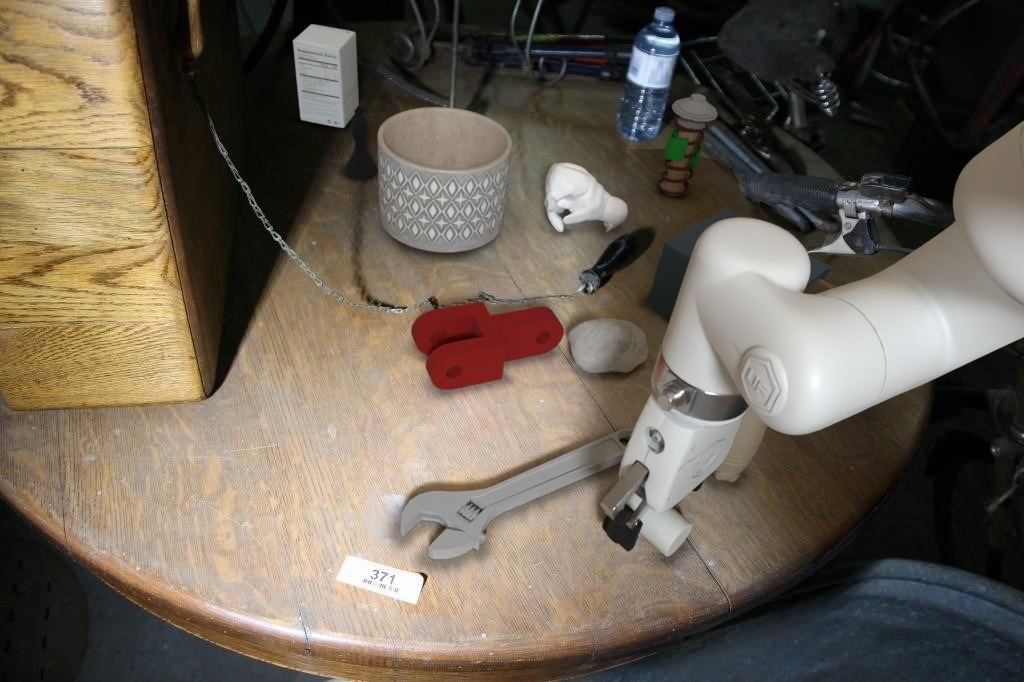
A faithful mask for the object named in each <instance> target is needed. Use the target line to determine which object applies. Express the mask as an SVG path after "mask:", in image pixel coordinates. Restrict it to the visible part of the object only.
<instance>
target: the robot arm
mask: <svg viewBox="0 0 1024 682" xmlns="http://www.w3.org/2000/svg"><path fill="white" fill-rule="evenodd" d="M952 209H953V210H952V211H953V215H954V219H955V221H954V222H953V223H952V224H950V225H949V226H948V227H946V228H945V229H943V231H941V232H939V233H937V235H936V236H934V237H933V238H931V239H929V240H928V241H926V242H925V243H924V244H922V245H921V246H919V247H918V248H916V249H915V250H913V251H911V252H910V253H909V254H907V255H906V256H904V257H903V258H901V259H899V260H898V261H896V262H895V263H893V264H891V265H890V266H888V267H887V268H885V269H882V270H881V271H879V272H877V273H875V274H873V275H871V276H868V277H865V278H862V279H858V280H856V281H855V280H854V281H852V282H849V283H846V284H843V285H840V286H835V287H836V288H833V289H830V290H827V291H824V292H821V293H818V294H815V295H814V294H804V293H803V292H804V290H805V288H806V285H807V283H808V280H809V277H810V260H809V256H808V255H809V254H808V251H807V249H806V248H805V246H804V245H803V244H802V243H801V242H800V240H799V239H798V238H796V236H795V235H793V234H792V233H790V232H789V231H788V230H786V229H784V228H782V227H781V226H778V225H776V224H774V223H772V222H768V221H765V220H762V219H758V218H753V217H743V216H742V217H741V216H739V217H737V218H729V219H724V220H720V221H718V222H716V223H714V224H712V225H711V226H709V227H708V228H707V229H705V231H704V232H703V233H702V234H701V235H700V237H699V238H698V240H697V242H696V244H695V247H694V249H693V252H692V255H691V258H690V261H689V264H688V267H687V270H686V273H685V276H684V279H683V282H682V285H681V289H680V292H679V295H678V298H677V301H676V304H675V306H674V309H673V312H672V315H671V318H670V319H669V322H668V325H667V327H666V330H665V334H664V336H663V340H662V343H661V346H660V349H659V351H658V355H657V358H656V361H655V364H654V367H653V369H652V372H651V377H650V383H651V388H652V391H651V393H650V394H649V396H648V398H647V400H646V403H645V404H644V406H643V408H642V410H641V413H640V414H639V417H638V419H637V420H636V423H635V425H634V428H633V429H632V430H633V432H632V435H631V437H630V439H629V440H628V442H627V444H626V446H627V447H626V450H625V452H624V455H623V458H622V462H621V463H620V465H619V470H618V478H619V479H618V481H619V480H620V481H619V482H618V481H617V482H618V483H615V484H614V485H613V487H612V488H611V489H610V491H609V492H608V493H607V494H606V495H605V496H604V497H603V499H602V500H601V501H600V504H599V506H600V508H601V510H602V511H601V512H603V513H604V514H605V515H604V518H603V522H602V525H601V529H602V530H603V531H604V532H605V534H606V536H607V537H608V538H609V540H611V541H612V542H613V543H614V544H617V545H619V546H620V547H621V548H622V549H624V551H626V552H631V551H632V550H633V549H635V546H636V543H637V540H638V539H639V536H640V530H641V528H642V525H643V523H642V521H641V518H642V517H643V516H644V514H645V513H646V511H647V510H648V509H649V507H650V508H651V509H653V510H654V511H655V512H657V513H661V512H665V511H668V510H669V509H671V508H673V507H674V506H676V505H677V504H678V503H679V502H681V501H682V500H683V499H684V498H685V497H687V496H688V495H689V494H690V493H691V492H693V493H694V492H695V493H697V492H699V491H700V490H701V489H702V486H703V484H704V482H705V481H706V479H707V478H708V477H709V476H710V475H711V474H713V473H712V472H713V471H714V470H715V469H717V468H718V467H719V466H720V464H721V463H722V462H723V461H724V460H725V458H726V457H727V455H728V453H729V450H730V448H731V446H732V443H733V441H734V438H735V436H736V433H737V431H738V428H739V426H740V423H741V421H742V418H743V416H744V415H745V413H746V412H747V410H748V408H749V407H750V408H751V410H752V411H753V412H754V413H755V414H756V415H757V417H758V418H759V419H760V420H762V421H763V422H764V423H765V424H766V425H768V426H767V427H769V428H770V429H772V430H774V431H776V432H779V433H780V434H785V435H791V436H803V435H808V434H811V433H814V432H815V433H816V432H817V431H820V430H821V431H822V430H823V429H826V428H828V427H830V426H833V425H834V424H836V423H839V422H841V421H843V420H845V419H848V418H850V417H852V416H855V415H857V414H859V413H862V412H863V411H865V410H867V409H869V408H871V407H873V406H876V405H878V404H880V403H882V402H885V401H887V400H889V399H891V398H895V397H896V396H898V395H902V394H903V393H906V392H909V391H911V390H913V389H915V388H918V387H921V386H923V385H925V384H927V383H929V382H931V381H933V380H935V379H937V378H939V377H942V376H944V375H946V374H949V373H951V372H952V371H954V370H956V369H958V368H961V367H963V366H965V365H967V364H969V363H971V362H973V361H975V360H978V359H979V358H982V357H984V356H986V355H988V354H990V353H993V352H994V351H996V350H998V349H1001V348H1003V347H1005V346H1008V345H1009V344H1011V343H1014V342H1016V341H1018V340H1021V339H1022V338H1024V120H1023V121H1021V122H1020V123H1018V124H1017V125H1015V127H1013V128H1012V129H1010V130H1009V131H1008V132H1006V133H1005V134H1004V135H1002V136H1001V137H999V138H998V139H996V140H995V141H994V142H992V143H991V144H989V145H988V146H986V147H985V148H984V149H983V150H981V151H980V152H979V153H977V154H976V155H975V156H973V158H972V159H971V160H969V162H968V163H967V164H966V165H965V166H964V168H963V169H961V172H960V174H959V176H958V178H957V180H956V183H955V186H954V190H953V198H952ZM644 483H645V484H644ZM642 484H644V485H645V488H644V487H643V486H641V485H642ZM634 493H635V494H637V495H638V496H639V497H640V498H641V499H642V501H641V503H640V504H639V506H638V507H637V508H636V510H635V511H634V510H633V509H632V508H631V507H629V506H628V505H627V504H626V502H627V501H628V500H629V499H630V498H631V496H632V495H633V494H634Z"/></svg>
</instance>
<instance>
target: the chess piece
mask: <svg viewBox="0 0 1024 682" xmlns="http://www.w3.org/2000/svg"><path fill="white" fill-rule="evenodd" d="M362 111H363V106H360V105H359V106H357V108H356V109H355V111H354V112H355V114H354V116H353V117H352V118H351V120H350V125H351V128H352V129H351V130H350V134H351V136H352V138H353V140H354V150H353V152H352V154H351V156H350V158H349V160H348V161H347V163H346V166H345V168H344V171H345V173H346V175H347V176H348V177H350V178H352V179H356V180H366V179H367V180H368V179H371V178H373V177H375V176H376V174H377V171H378V169H377V166H376V165H375V163H374V161H373V159H372V158H371V156H370V154H369V152H368V151H367V148H366V139H367V137H368V134H369V130H368V129H367V128H368V124H369V122H368V119H367V118H366V117H365V115H363V114H362Z"/></svg>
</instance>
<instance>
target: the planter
mask: <svg viewBox="0 0 1024 682" xmlns="http://www.w3.org/2000/svg"><path fill="white" fill-rule="evenodd" d="M512 149H513V140H512V137H511V134H510V133H509V131H507V129H506V128H505V127H504V126H502V125H501V124H500V123H499V122H497V121H495V120H494V119H492V118H490V117H488V116H485V115H483V114H480V113H477V112H474V111H470V110H466V109H463V108H457V107H456V108H455V107H448V106H447V107H446V106H428V107H427V106H426V107H425V106H424V107H418V108H411V109H408V110H404V111H400V112H398V113H396V114H394V115H392V116H390V117H389V118H387V119H386V120H384V122H382V124H381V125H380V126H379V129H378V131H377V168H378V169H377V171H378V174H377V177H378V214H379V216H378V218H379V221H380V224H381V226H382V228H383V229H384V230H385V232H387V234H388V235H390V236H391V237H392V238H394V239H395V240H397V241H399V242H400V243H402V244H404V245H406V246H409V247H411V248H415V249H418V250H422V251H426V252H431V253H439V254H441V253H443V254H444V253H461V252H466V251H471V250H474V249H478V248H481V247H482V246H484V245H487V244H489V243H491V242H492V241H493V240H494V239H496V237H498V235H499V234H500V233H501V231H502V230H503V226H504V221H505V212H506V204H507V203H506V202H507V195H508V185H509V176H510V167H511V159H512V151H513V150H512Z"/></svg>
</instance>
